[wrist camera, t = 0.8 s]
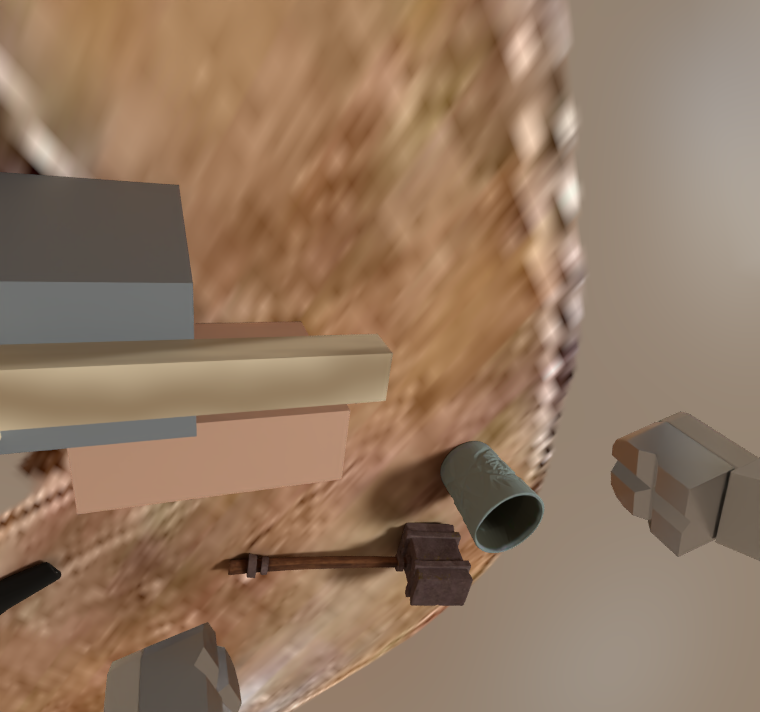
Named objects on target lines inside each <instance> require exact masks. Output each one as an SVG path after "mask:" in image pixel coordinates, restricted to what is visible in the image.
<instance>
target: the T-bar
mask: <svg viewBox="0 0 760 712" xmlns="http://www.w3.org/2000/svg"><path fill="white" fill-rule="evenodd" d="M392 356H393V353H392V352H391V350H390V349H389V348H388V347H387V345H386V344H385V343H384V342H383V341H382V339H381V338H380V337H379V336H378V334H359V335H324V336H289V337H253V338H218V339H182V340H147V341H112V342H76V343H41V344H5V345H0V431H7V430H20V429H32V428H45V427H58V426H71V425H83V424H96V423H109V422H122V421H134V420H147V419H160V418H173V417H185V416H198V415H211V414H224V413H236V412H249V411H262V410H275V409H287V408H300V407H313V406H325V405H338V404H351V403H364V402H376V401H385V400H386V394H387V387H388V381H389V375H390V368H391V362H392ZM0 439H1V433H0Z"/></svg>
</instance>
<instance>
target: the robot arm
mask: <svg viewBox="0 0 760 712" xmlns="http://www.w3.org/2000/svg"><path fill="white" fill-rule="evenodd" d="M612 455H613V456H614V457H615V458H616V459H617V460H618V461H617V463H616V464H615V466H614V467H613V469H612V471H611V485H612V487H613V490H614V492H615V495H616V497H617V498H618V500H619V501H620V502H621V504H622V505H623V506H624V507H625V508H626V509H627V510H628V511H629V512H630V513H631V514H632V515H634V516H637V517H640V518H643V519H646V520H648V523H649V527H650V532H651V533H652V534H653V535H655V536H656V537H657V538H658V539H659V540H660V541H661V542H662V543H663V544H664V545H665V546H667V547H668V548H669V549H670V550H671V551H672V552H673V553H674V554H675V555H676V556H678V557H679V556H681V555H683V554H685V553H688V552H690V551H692V550H694V549H696V548H698V547H700V546H702V545H705V544H707V543H709V542H711V541H713V540H715V539H716V541H715V542H716V543H718V544H721V545H723V546H726V547H728V548H731V549H733V550H735V551H738V552H740V553H743V554H745V555H747V556H749V557H752V558H754V559H756V560H759V561H760V458H758V457H757V456H755V455H754V454H752V453H750V452H749V451H747V450H745V449H744V448H743V447H741V446H739V445H738V444H736V443H735V442H733V441H731V440H730V439H728V438H727V437H725V436H724V435H722V434H720V433H719V432H717V431H716V430H714V429H712V428H711V427H709V426H708V425H706V424H705V423H703V422H701V421H700V420H698V419H697V418H695V417H694V416H692V415H691V414H688V413H685V412H678V413H676V414H673V415H671V416H669V417H667V418H664V419H662V420H660V421H658V422H654V423H652V424H650V425H648V426H645V427H643V428H641V429H639V430H637V431H634V432H632V433H630V434H628V435H626V436H624V437H621V438H619V439H617V440H616V441H615V443H614V445H613V448H612ZM241 704H242V703H241V696H240V689H239V683H238V679H237V676H236V672H235V668H234V665H233V663H232V660H231V658H230V656H229V654H228V652H227V651H226V649H225V648H224V647H220V646H217V644H216V634H215V632H214V630H213V629H212V627H211V626H210V625H209V623H208V622H207V623H204V624H202V625H199V626H197V627H195V628H192V629H190V630H187V631H185V632H183V633H180V634H178V635H175V636H173V637H170V638H168V639H166V640H163V641H161V642H158V643H156V644H153V645H151V646H149V647H146V648H144V649H142V650H139V651H137V652H135V653H132V654H130V655H128V656H125V657H123V658H121V659H118V660H116V661H114V662H112V664H111V667H110V669H109V672H108V674H107V683H106V693H105V703H104V712H238V711H239V708H240V706H241Z"/></svg>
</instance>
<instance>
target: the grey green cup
mask: <svg viewBox="0 0 760 712" xmlns="http://www.w3.org/2000/svg"><path fill="white" fill-rule="evenodd" d="M440 473H441V479H442V481H443V483H444V485H445V487H446V488H447V490H448V492H449V494H450V495H451V497H452V498H453V500H454V504H455V505H456V507H457V509H458V511H459V512H460V514H461V515H462V517H463V521H464V522H465V524H466V525H467V528H468V530H469V532H470V534H471V536H472V538H473V540H474V542H475V544H476V546H477V547H478V548H479V549H481V550H482V551H485V552H488V553H499V552H503V551H506V550H509V549H511V548H513V547H515V546H517V545H519V544H520V543H521V542H523V541H524V540H525V539H527V538H528V537H529V536H530V535H531V534H532V533H533V532H534V531H535V529H536V528H537V527H538V525H539V524H540V522H541V520H542V517H543V513H544V504H543V501H542V499H541V498H540V497H539V496H538V495H537V494H536V493H535V492H534V491H533V490H532V489H531V488H530V487H529V486H528V485H527V484H526V483H525V482H524V481H523V480H522V479H521V478H519V477H517V476H516V475H515V472H514V471H513V470H512V469H511V468H510V467H509V466H508V465H507V464H506V463H505V462H504V461H502V460H501V459H500V458H499V457H498V455H497V454H496V453H495V452H494V451H493V450H492V449H491V448H490V447H489V446H488V445H487V444H485V443H483V442H479V441H470V442H466V443H464V444H461V445H459V446H458V447H456V448H455V449H453V450H452V451H451V452H450V453H449V454H448V455H447V457H446V458H445V460H444V461H443V463H442V466H441V472H440Z"/></svg>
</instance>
